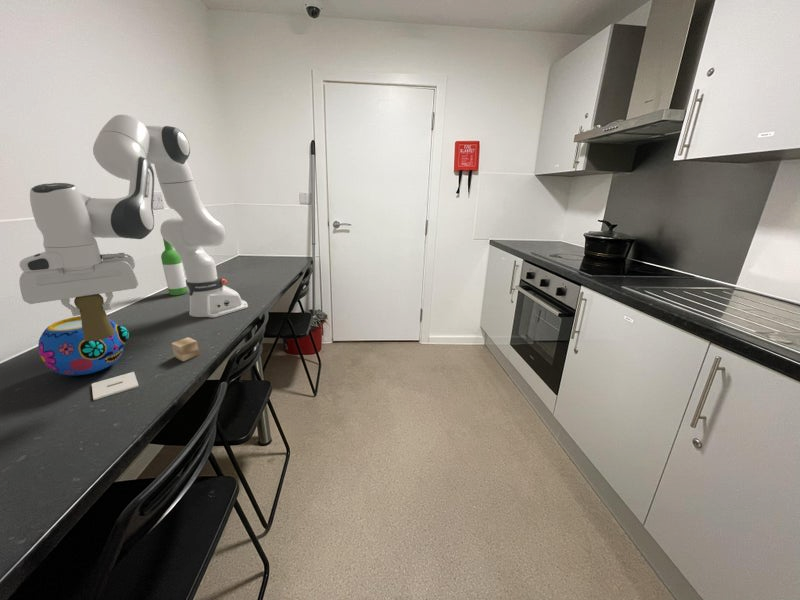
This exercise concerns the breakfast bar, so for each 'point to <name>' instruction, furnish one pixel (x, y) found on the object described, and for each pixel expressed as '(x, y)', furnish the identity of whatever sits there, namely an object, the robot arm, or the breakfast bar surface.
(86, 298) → the cork
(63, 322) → the ceramic pot
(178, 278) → the wine bottle
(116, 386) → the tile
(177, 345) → the oak cube
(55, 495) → the breakfast bar surface
